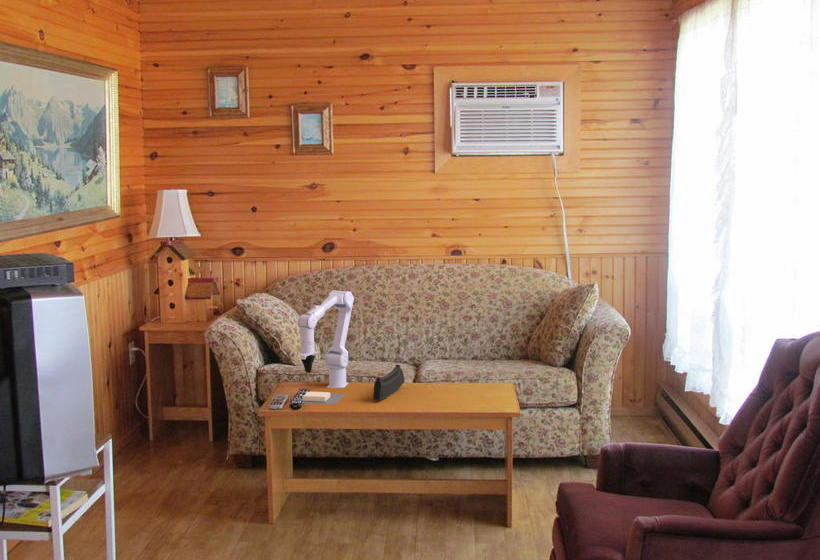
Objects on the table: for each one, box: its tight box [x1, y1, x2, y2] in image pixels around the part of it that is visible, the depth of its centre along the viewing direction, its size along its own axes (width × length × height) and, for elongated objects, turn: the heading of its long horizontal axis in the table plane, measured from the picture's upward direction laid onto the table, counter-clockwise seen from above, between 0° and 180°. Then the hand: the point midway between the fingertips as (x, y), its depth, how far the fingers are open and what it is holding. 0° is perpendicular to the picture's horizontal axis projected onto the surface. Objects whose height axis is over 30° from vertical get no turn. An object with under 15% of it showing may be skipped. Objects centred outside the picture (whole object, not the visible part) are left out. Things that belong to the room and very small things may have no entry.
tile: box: [303, 391, 331, 402], centre depth 396 cm, size 2×10×8 cm
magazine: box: [372, 364, 405, 401], centre depth 404 cm, size 17×3×30 cm
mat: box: [289, 393, 346, 406], centre depth 399 cm, size 18×20×1 cm
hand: (308, 372), depth 405 cm, fingers closed
